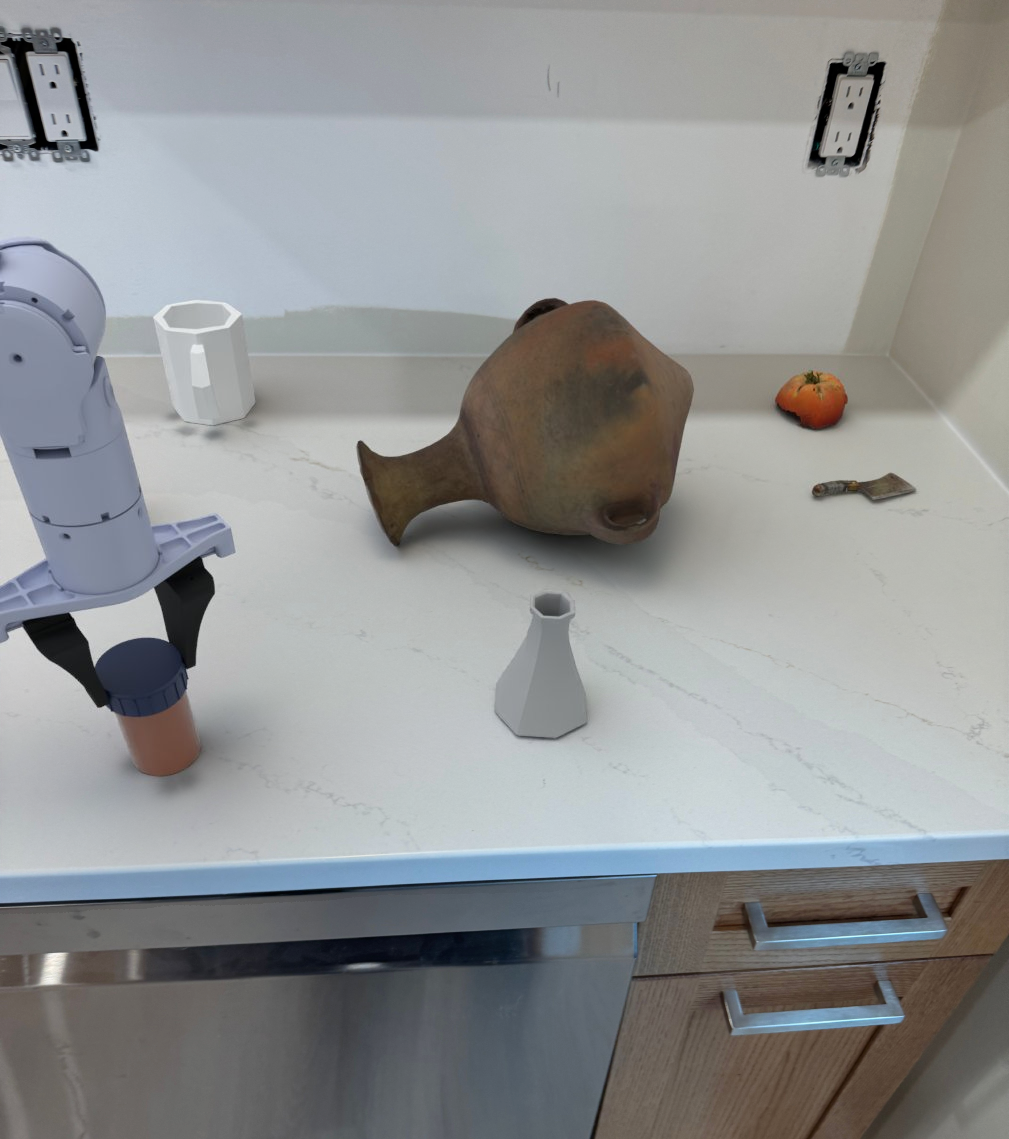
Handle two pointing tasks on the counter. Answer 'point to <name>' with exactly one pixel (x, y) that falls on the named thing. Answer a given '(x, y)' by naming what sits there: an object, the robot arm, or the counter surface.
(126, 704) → the lid
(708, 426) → the counter surface
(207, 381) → the mug
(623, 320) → the jug
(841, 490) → the meat cleaver
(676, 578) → the counter surface
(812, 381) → the tomato
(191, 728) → the jar
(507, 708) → the flask
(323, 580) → the counter surface
